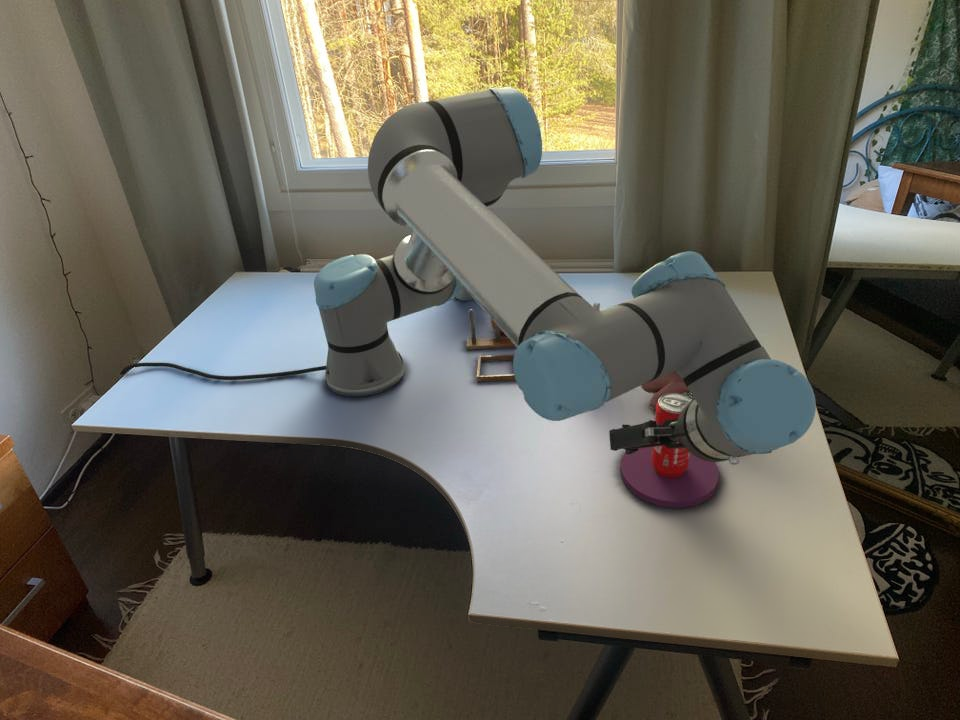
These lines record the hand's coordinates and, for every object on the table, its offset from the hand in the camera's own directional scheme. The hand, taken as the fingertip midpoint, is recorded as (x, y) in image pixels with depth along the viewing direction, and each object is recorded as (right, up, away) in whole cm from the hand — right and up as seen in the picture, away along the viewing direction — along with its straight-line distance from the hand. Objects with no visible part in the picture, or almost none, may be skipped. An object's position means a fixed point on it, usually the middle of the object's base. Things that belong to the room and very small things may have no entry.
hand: (677, 442), depth 87 cm
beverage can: (+1, -5, +6) cm, 8 cm away
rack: (-24, +12, +38) cm, 46 cm away
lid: (+1, -6, +7) cm, 9 cm away
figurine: (+8, +5, +22) cm, 24 cm away
